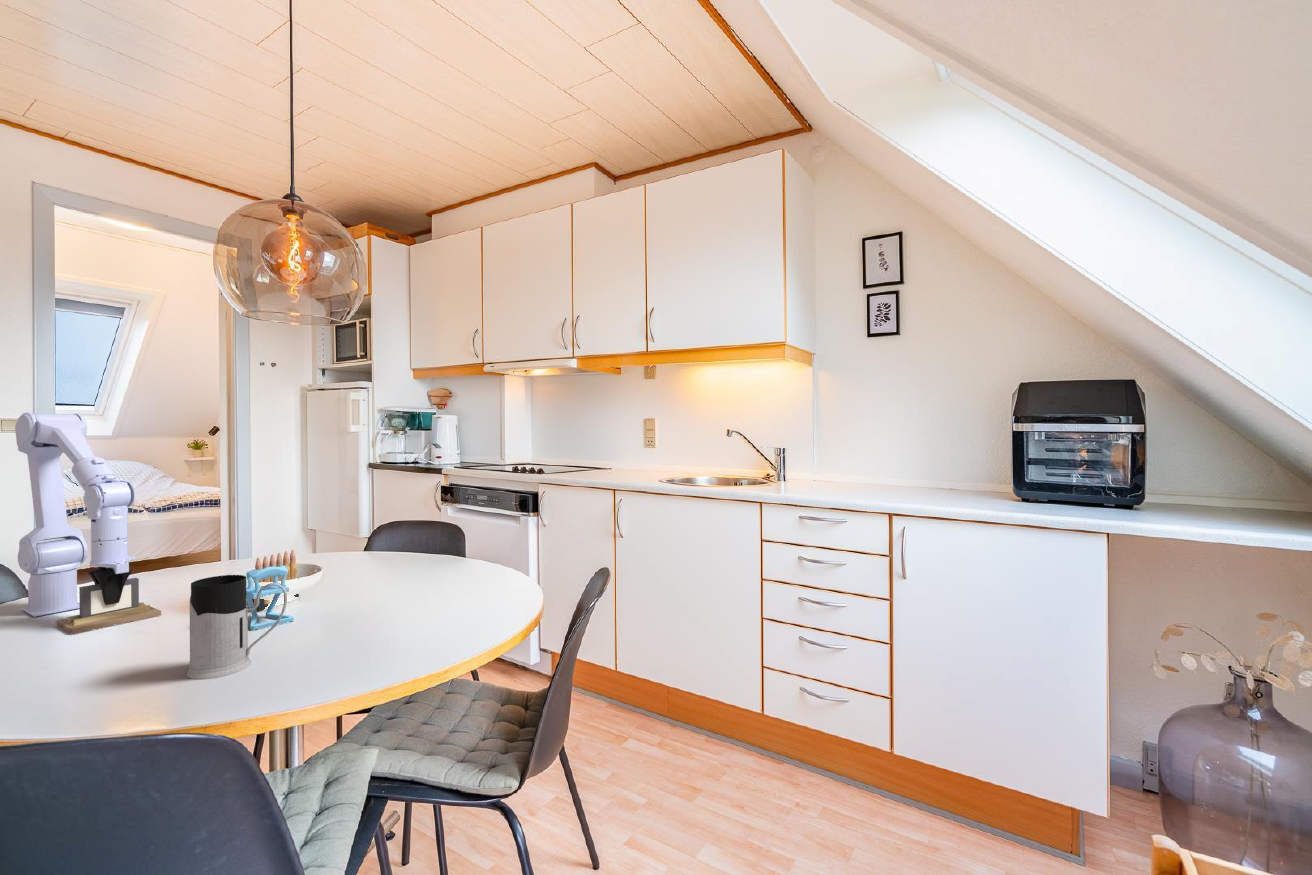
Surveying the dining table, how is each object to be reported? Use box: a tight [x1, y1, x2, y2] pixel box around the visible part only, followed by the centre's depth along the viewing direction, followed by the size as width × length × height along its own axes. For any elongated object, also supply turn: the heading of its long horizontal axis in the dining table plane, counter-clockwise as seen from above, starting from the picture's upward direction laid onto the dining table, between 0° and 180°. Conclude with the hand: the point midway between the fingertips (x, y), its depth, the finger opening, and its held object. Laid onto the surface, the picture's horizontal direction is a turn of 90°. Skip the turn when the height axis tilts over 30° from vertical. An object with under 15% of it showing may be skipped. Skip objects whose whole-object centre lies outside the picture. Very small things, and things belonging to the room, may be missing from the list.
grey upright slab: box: [78, 577, 140, 618], centre depth 122 cm, size 2×9×7 cm, turn 149°
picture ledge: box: [55, 601, 162, 635], centre depth 122 cm, size 10×14×2 cm
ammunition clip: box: [252, 549, 300, 613], centre depth 133 cm, size 11×2×12 cm, turn 165°
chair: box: [245, 564, 295, 631], centre depth 121 cm, size 8×8×12 cm
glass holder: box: [186, 574, 288, 680], centre depth 98 cm, size 9×14×15 cm, turn 111°
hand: (110, 602), depth 122 cm, fingers closed on grey upright slab, 2 cm apart
